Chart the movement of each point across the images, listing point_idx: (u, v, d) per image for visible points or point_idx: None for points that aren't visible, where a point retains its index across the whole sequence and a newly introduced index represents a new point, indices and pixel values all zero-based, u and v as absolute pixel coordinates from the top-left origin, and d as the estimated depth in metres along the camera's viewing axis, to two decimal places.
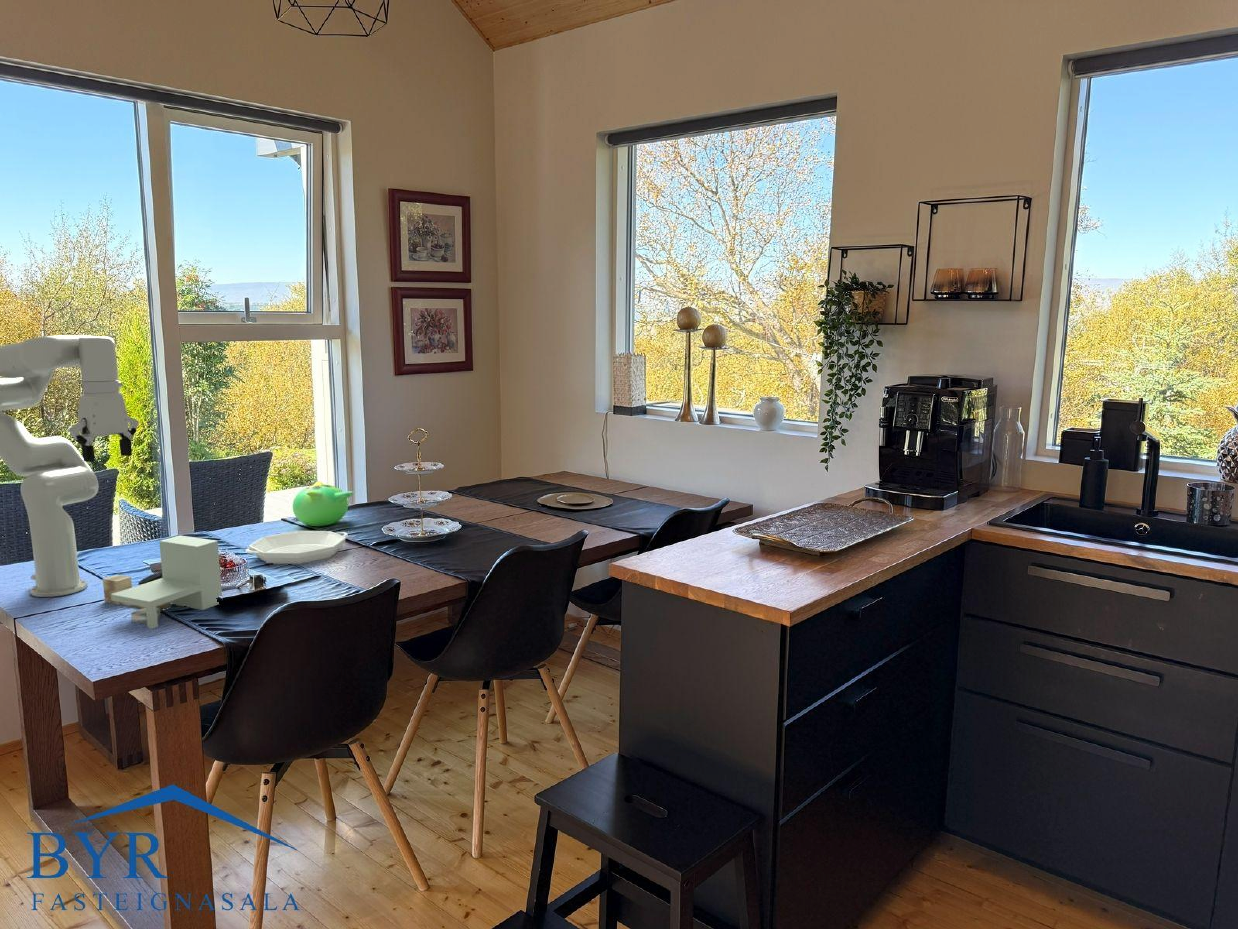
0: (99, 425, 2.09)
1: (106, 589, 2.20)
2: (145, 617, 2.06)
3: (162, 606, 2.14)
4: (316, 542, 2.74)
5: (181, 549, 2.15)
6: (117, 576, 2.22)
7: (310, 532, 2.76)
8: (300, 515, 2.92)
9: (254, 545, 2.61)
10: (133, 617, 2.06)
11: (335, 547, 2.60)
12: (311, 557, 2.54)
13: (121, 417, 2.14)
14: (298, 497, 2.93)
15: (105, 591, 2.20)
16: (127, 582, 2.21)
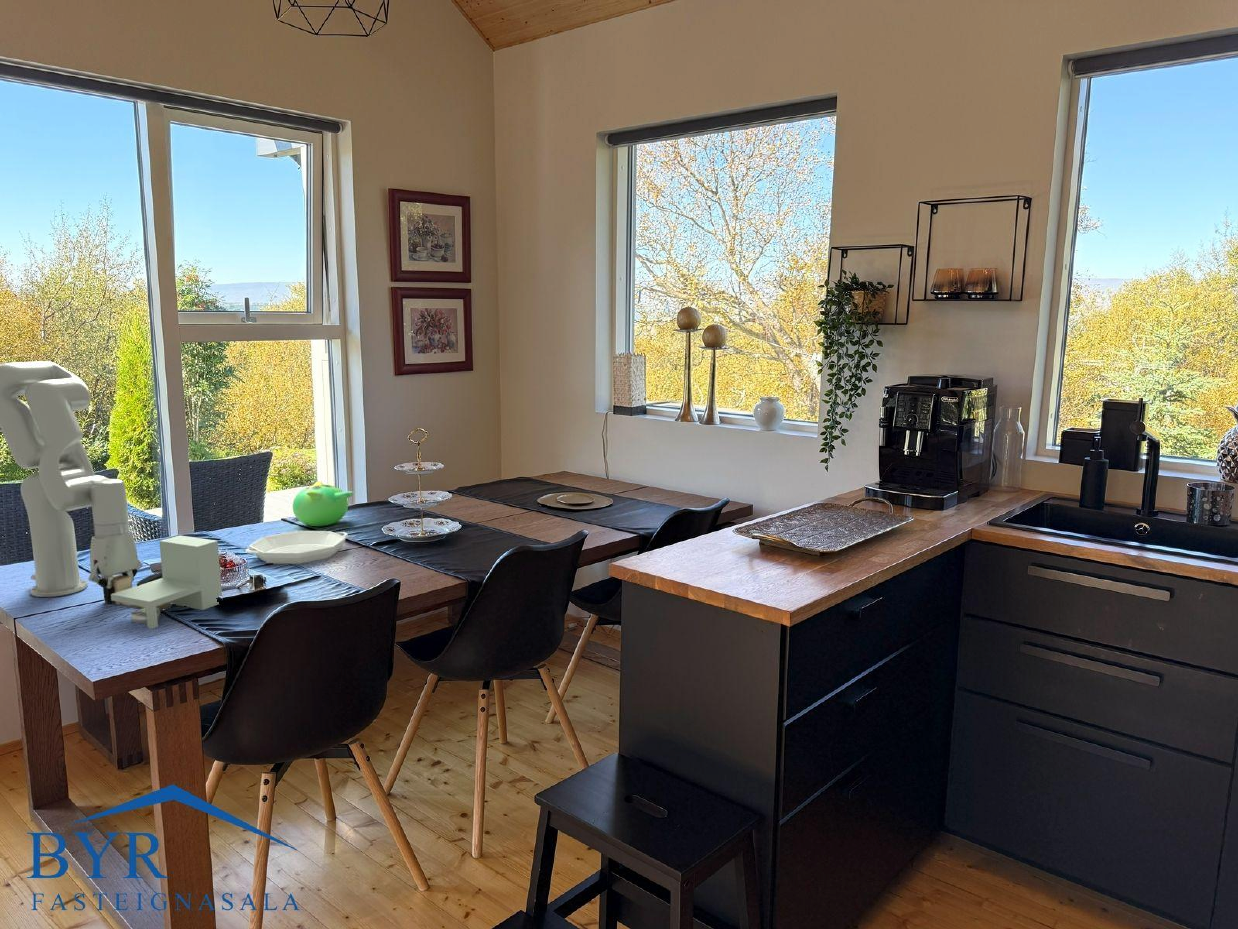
0: (110, 566, 2.16)
1: None
2: (145, 617, 2.06)
3: (162, 606, 2.14)
4: (316, 542, 2.74)
5: (181, 549, 2.15)
6: (117, 576, 2.22)
7: (310, 532, 2.76)
8: (300, 515, 2.92)
9: (254, 545, 2.61)
10: (133, 617, 2.06)
11: (335, 547, 2.60)
12: (311, 556, 2.54)
13: (131, 555, 2.21)
14: (298, 497, 2.93)
15: None
16: (127, 582, 2.21)
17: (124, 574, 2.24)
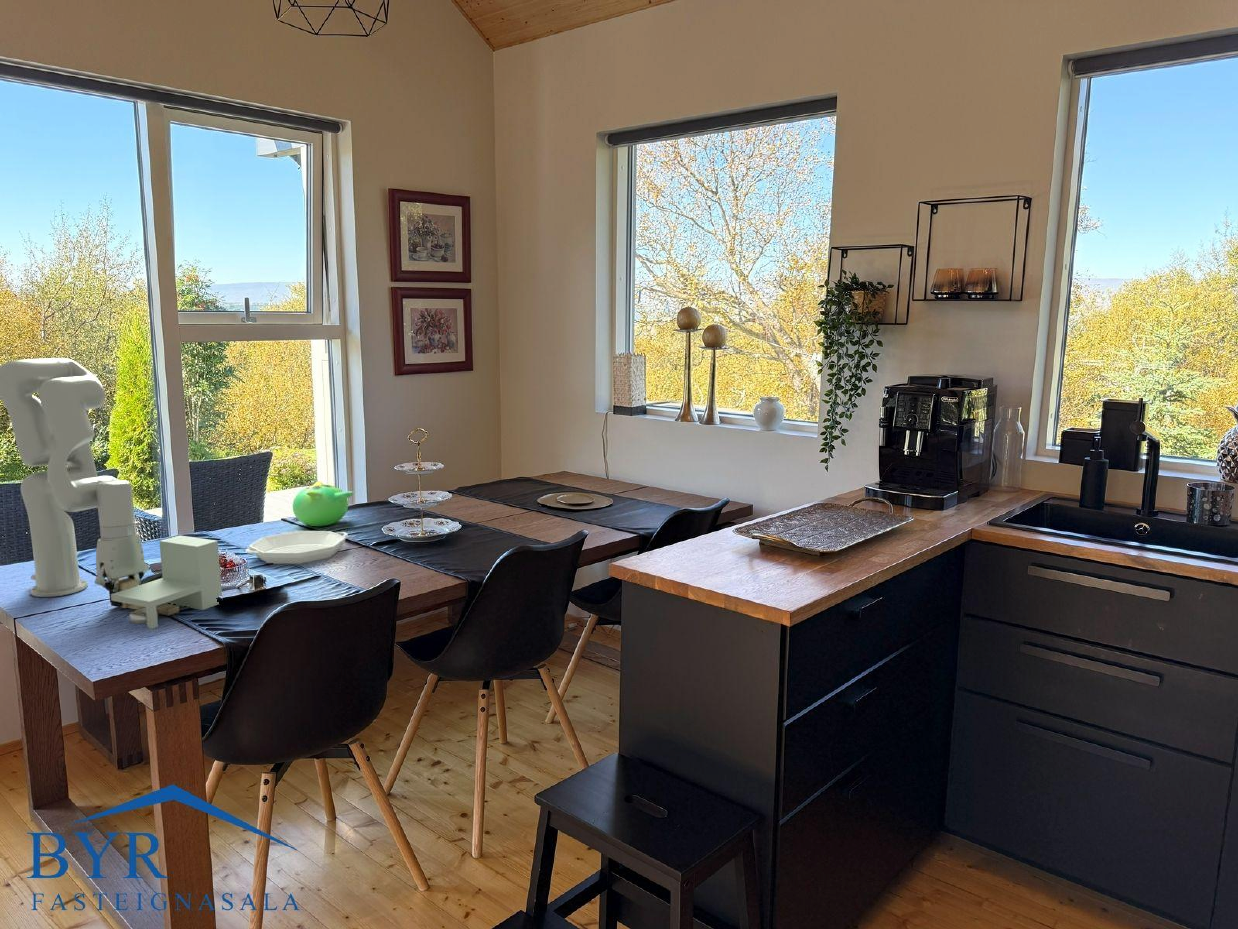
0: (116, 569, 2.12)
1: None
2: (143, 617, 2.05)
3: (170, 610, 2.10)
4: (316, 542, 2.74)
5: (181, 549, 2.15)
6: (123, 579, 2.17)
7: (310, 532, 2.76)
8: (300, 515, 2.92)
9: (254, 545, 2.61)
10: (131, 617, 2.06)
11: (335, 547, 2.60)
12: (311, 556, 2.54)
13: (138, 557, 2.17)
14: (298, 497, 2.93)
15: None
16: (134, 585, 2.16)
17: (130, 577, 2.19)
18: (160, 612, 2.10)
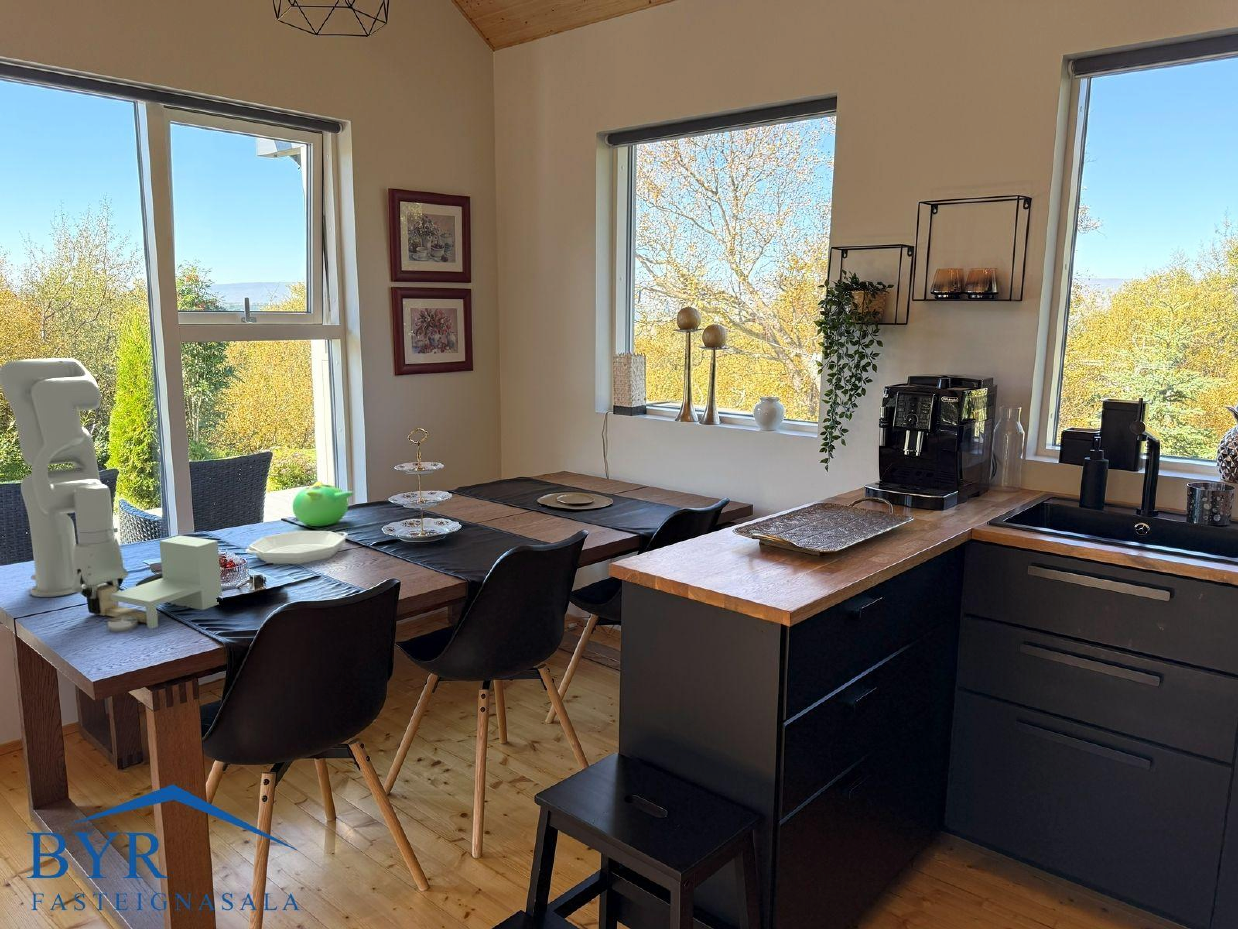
0: (94, 575, 2.06)
1: None
2: (123, 625, 2.00)
3: None
4: (316, 542, 2.74)
5: (181, 549, 2.15)
6: (102, 585, 2.12)
7: (310, 532, 2.76)
8: (300, 515, 2.92)
9: (254, 545, 2.61)
10: (110, 625, 2.00)
11: (335, 547, 2.60)
12: (311, 556, 2.54)
13: (116, 563, 2.11)
14: (298, 497, 2.93)
15: None
16: (112, 592, 2.11)
17: (109, 583, 2.14)
18: (139, 620, 2.05)
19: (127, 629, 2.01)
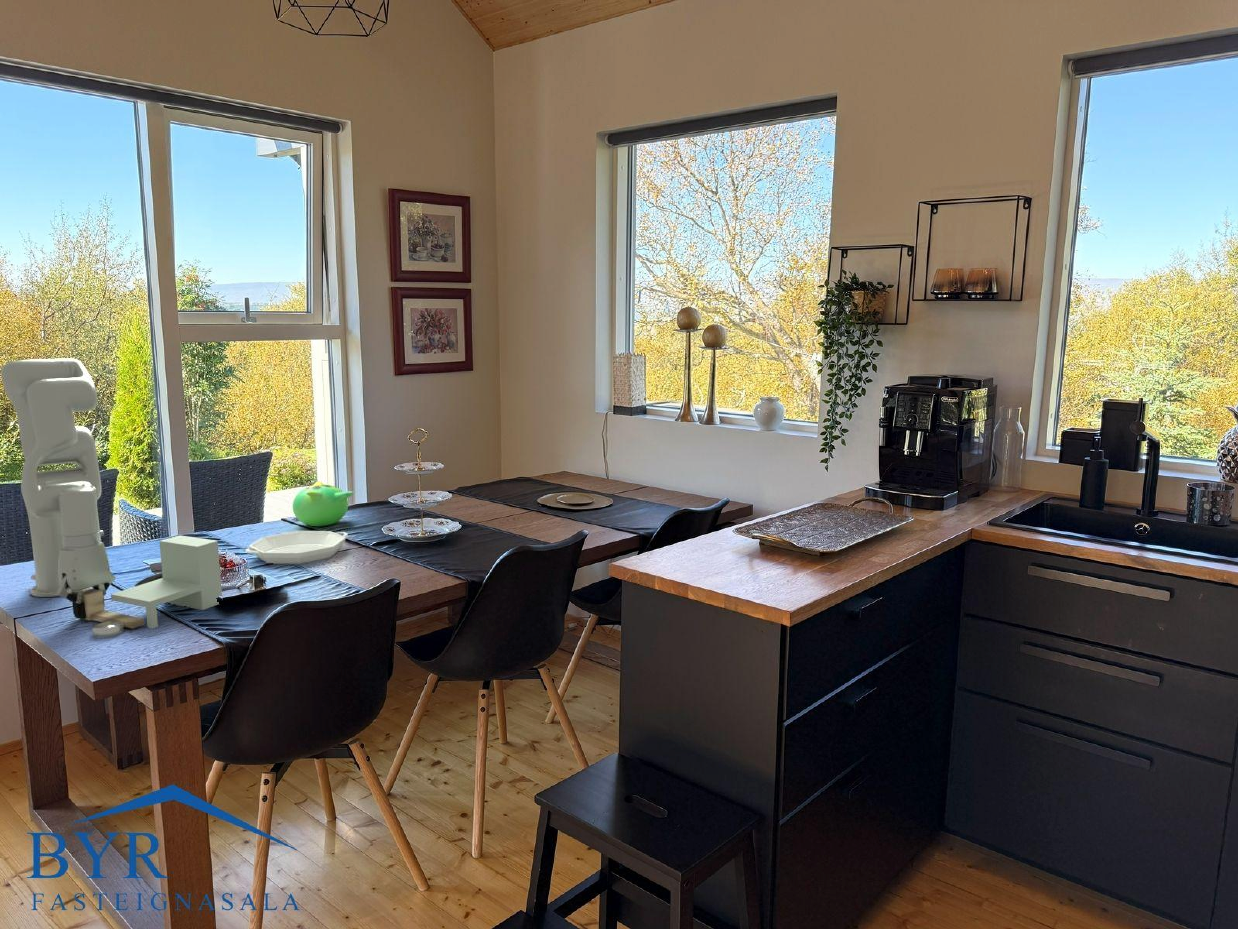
0: (79, 579, 2.03)
1: None
2: (108, 631, 1.97)
3: (135, 622, 2.01)
4: (316, 542, 2.74)
5: (181, 549, 2.15)
6: (88, 590, 2.09)
7: (310, 532, 2.76)
8: (300, 515, 2.92)
9: (254, 545, 2.61)
10: (95, 631, 1.97)
11: (335, 547, 2.60)
12: (311, 556, 2.54)
13: (103, 568, 2.08)
14: (298, 497, 2.93)
15: None
16: (98, 596, 2.08)
17: (95, 588, 2.10)
18: (124, 625, 2.02)
19: (113, 635, 1.98)
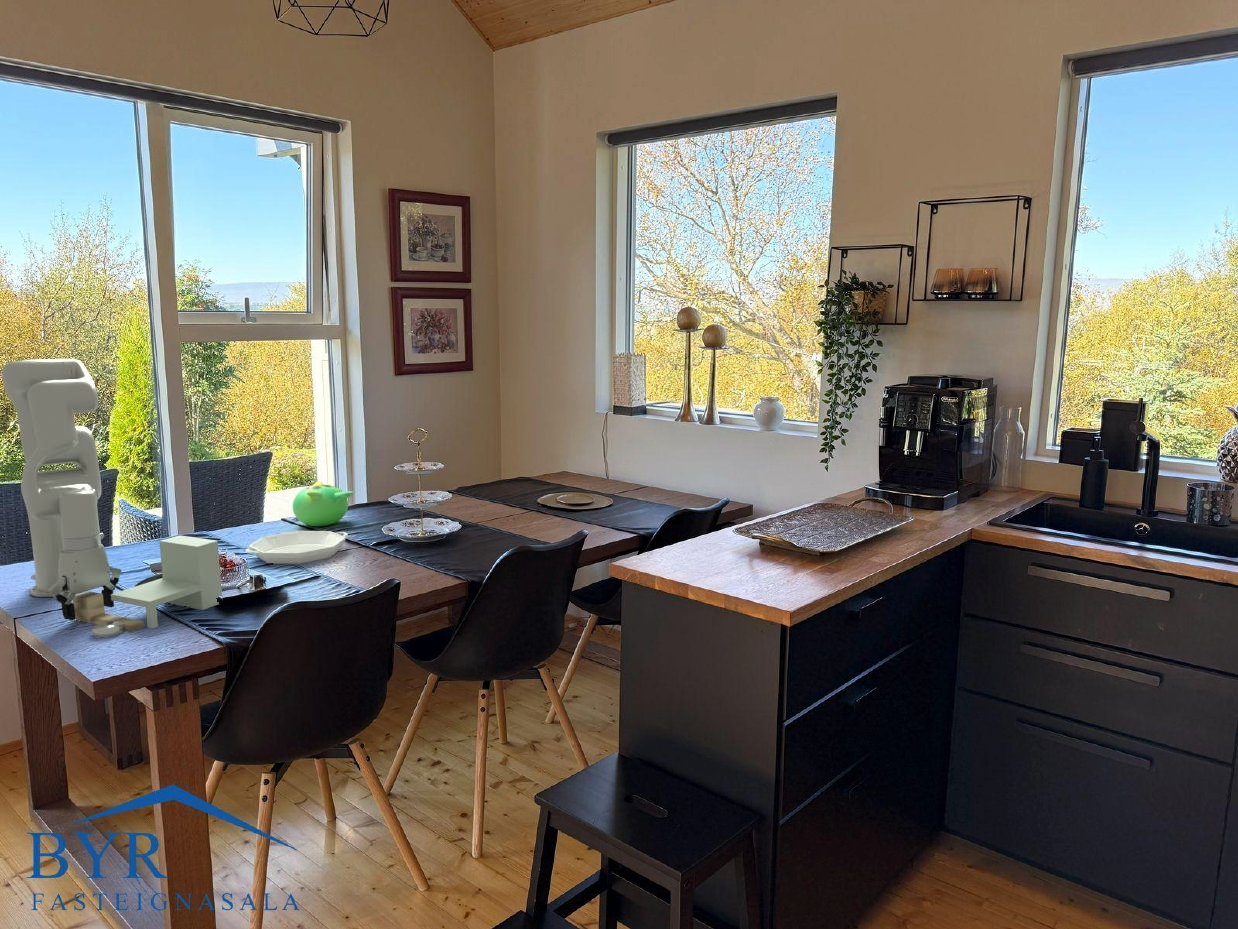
0: (80, 582, 2.03)
1: (76, 607, 2.07)
2: (107, 631, 1.97)
3: (135, 625, 2.01)
4: (316, 542, 2.74)
5: (181, 549, 2.15)
6: (88, 593, 2.09)
7: (310, 532, 2.76)
8: (300, 515, 2.92)
9: (254, 545, 2.61)
10: (94, 631, 1.97)
11: (335, 547, 2.60)
12: (311, 556, 2.54)
13: (103, 570, 2.08)
14: (298, 497, 2.93)
15: (75, 609, 2.07)
16: (98, 599, 2.08)
17: None
18: (124, 628, 2.02)
19: (112, 635, 1.98)
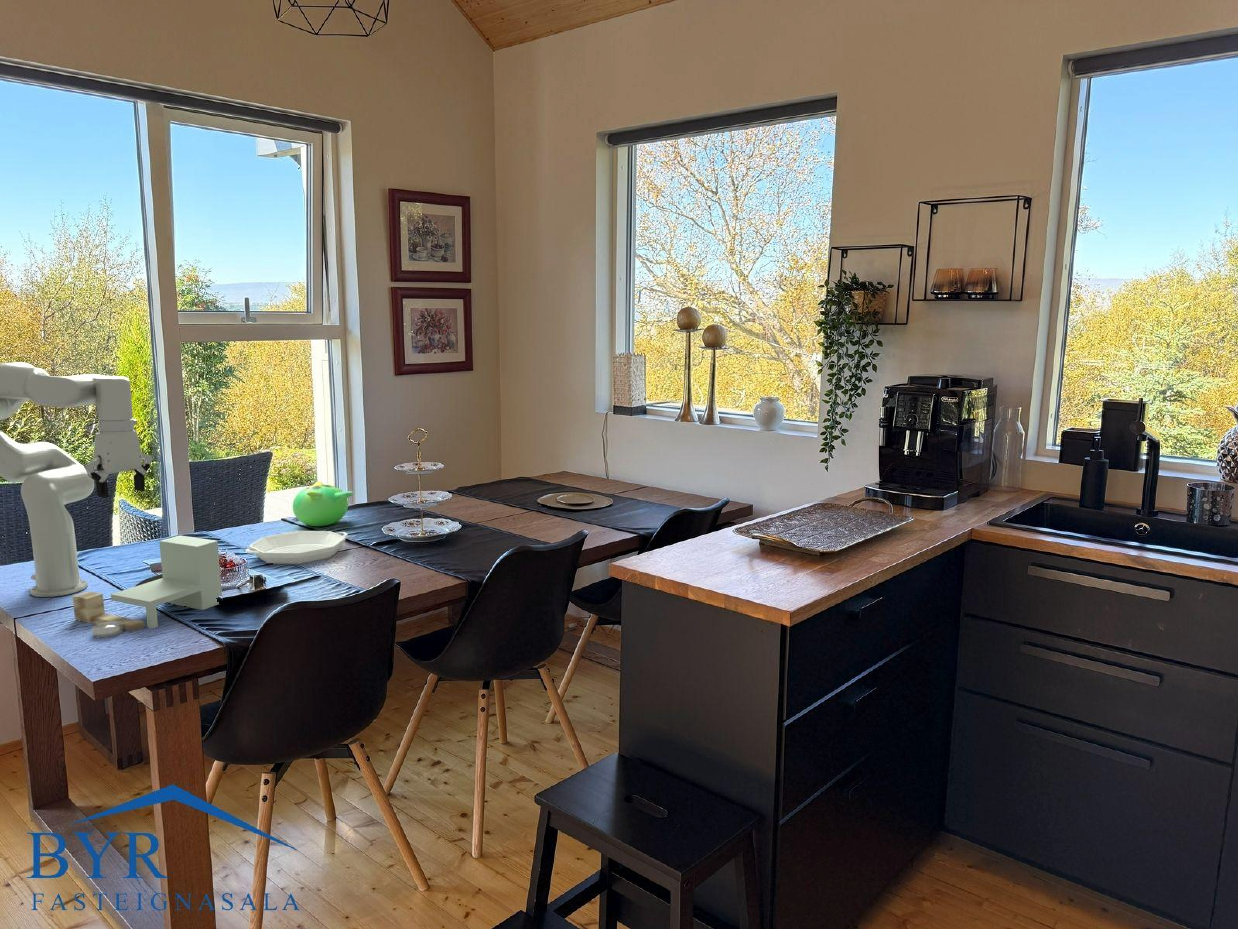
0: (113, 462, 2.16)
1: (76, 607, 2.07)
2: (108, 631, 1.97)
3: (135, 625, 2.01)
4: (316, 542, 2.74)
5: (181, 549, 2.15)
6: (88, 593, 2.09)
7: (310, 532, 2.76)
8: (300, 515, 2.92)
9: (254, 545, 2.61)
10: (95, 631, 1.97)
11: (335, 547, 2.60)
12: (311, 556, 2.54)
13: (135, 454, 2.21)
14: (298, 497, 2.93)
15: (75, 609, 2.07)
16: (98, 599, 2.08)
17: (135, 469, 2.25)
18: (124, 628, 2.02)
19: (112, 635, 1.98)
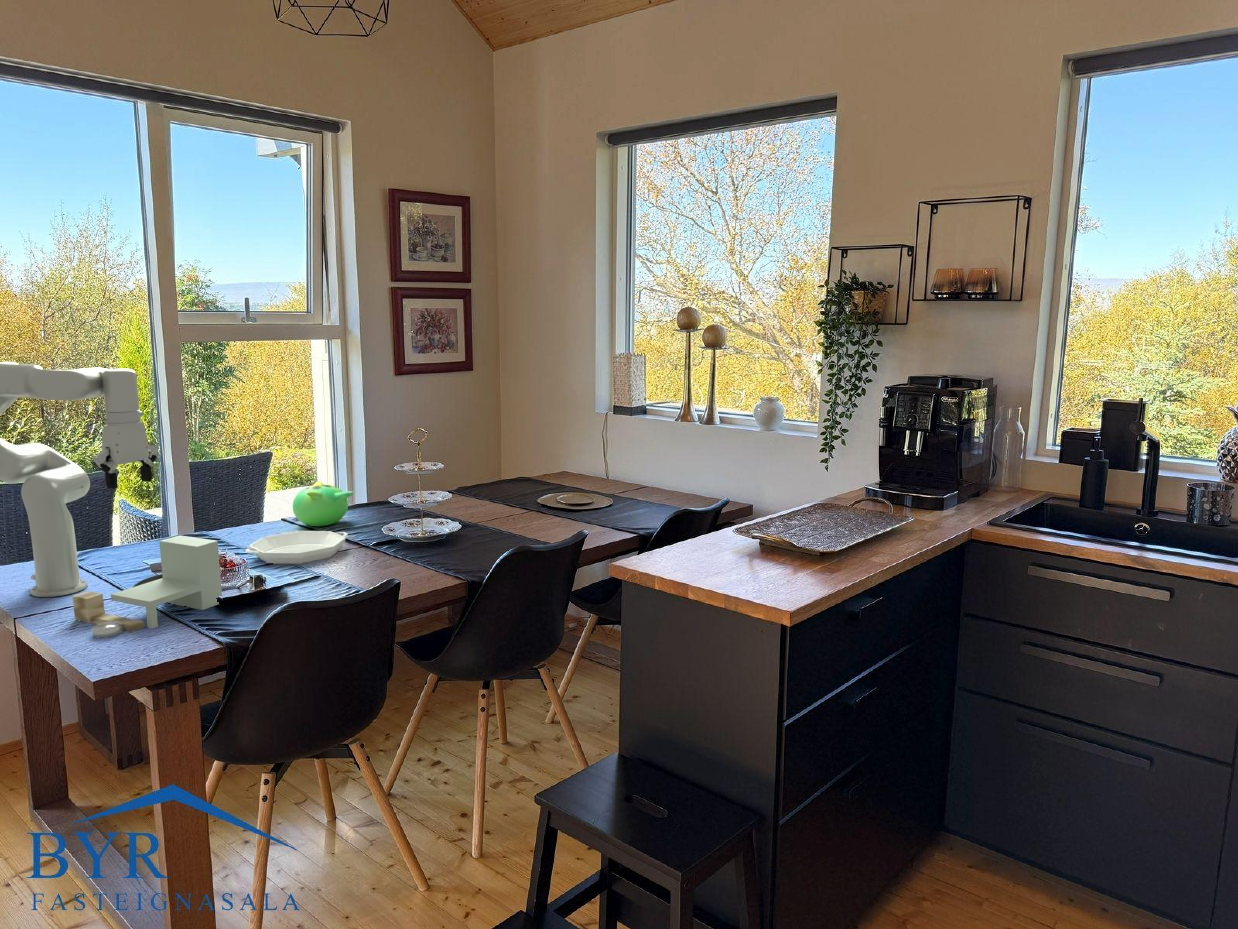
0: (122, 453, 2.19)
1: (76, 607, 2.07)
2: (108, 631, 1.97)
3: (135, 625, 2.01)
4: (316, 542, 2.74)
5: (181, 549, 2.15)
6: (88, 593, 2.09)
7: (310, 532, 2.76)
8: (300, 515, 2.92)
9: (254, 545, 2.61)
10: (95, 631, 1.97)
11: (335, 547, 2.60)
12: (311, 556, 2.54)
13: (142, 445, 2.24)
14: (298, 497, 2.93)
15: (75, 609, 2.07)
16: (98, 599, 2.08)
17: (142, 460, 2.28)
18: (124, 628, 2.02)
19: (113, 635, 1.98)
